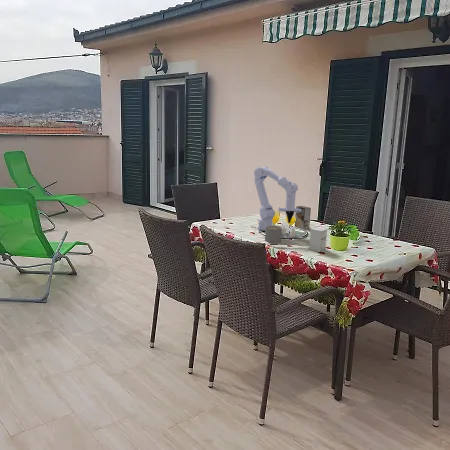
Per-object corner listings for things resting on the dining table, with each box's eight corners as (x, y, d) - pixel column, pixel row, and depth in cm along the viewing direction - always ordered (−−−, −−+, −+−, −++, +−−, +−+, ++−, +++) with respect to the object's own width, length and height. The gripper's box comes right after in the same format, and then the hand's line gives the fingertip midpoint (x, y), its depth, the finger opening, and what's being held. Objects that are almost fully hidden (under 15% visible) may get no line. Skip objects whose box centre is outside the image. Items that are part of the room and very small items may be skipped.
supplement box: (319, 252, 269) (321, 231, 266) (308, 249, 273) (310, 228, 271) (325, 249, 274) (327, 229, 272) (314, 247, 279) (316, 226, 276)
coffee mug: (272, 245, 279) (273, 229, 277) (261, 242, 286) (262, 226, 284) (288, 243, 287) (289, 227, 285) (277, 239, 294) (278, 224, 292)
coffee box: (309, 230, 325) (311, 207, 322) (303, 231, 321) (305, 208, 318) (300, 227, 332) (301, 205, 329) (293, 228, 328) (295, 206, 325)
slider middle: (281, 234, 302) (281, 227, 301) (281, 233, 305) (281, 226, 304) (286, 234, 302) (286, 228, 301) (285, 233, 305) (285, 227, 304)
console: (280, 240, 293) (280, 237, 293) (276, 232, 313) (277, 230, 313) (303, 240, 293) (303, 238, 293) (299, 233, 313) (299, 231, 313)
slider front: (290, 237, 295) (290, 230, 294) (289, 235, 298) (290, 229, 297) (295, 237, 295) (295, 230, 294) (294, 236, 298) (294, 229, 297)
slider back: (280, 231, 309) (280, 225, 308) (279, 230, 312) (280, 224, 311) (284, 231, 309) (285, 225, 308) (284, 230, 312) (284, 224, 311)
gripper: (280, 202, 295) (278, 223, 298) (302, 203, 295) (301, 224, 298) (278, 200, 302) (277, 221, 305) (301, 201, 302) (299, 222, 305)
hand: (289, 222), depth 302 cm, fingers closed
